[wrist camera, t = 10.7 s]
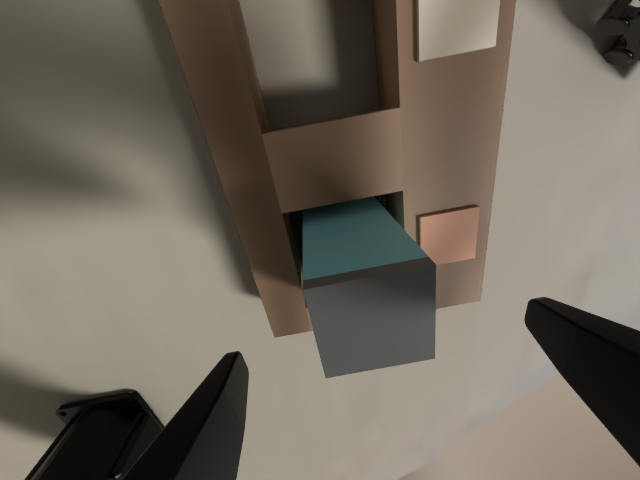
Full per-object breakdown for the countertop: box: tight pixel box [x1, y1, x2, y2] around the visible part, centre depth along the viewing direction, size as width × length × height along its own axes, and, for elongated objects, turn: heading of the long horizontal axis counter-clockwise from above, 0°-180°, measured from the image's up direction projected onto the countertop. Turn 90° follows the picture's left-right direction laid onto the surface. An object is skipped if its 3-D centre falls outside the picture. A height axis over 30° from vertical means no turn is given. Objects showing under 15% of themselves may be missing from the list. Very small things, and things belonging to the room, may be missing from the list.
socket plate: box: [158, 0, 516, 337], centre depth 12 cm, size 12×18×3 cm, turn 10°
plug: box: [303, 196, 436, 378], centre depth 12 cm, size 4×4×8 cm
